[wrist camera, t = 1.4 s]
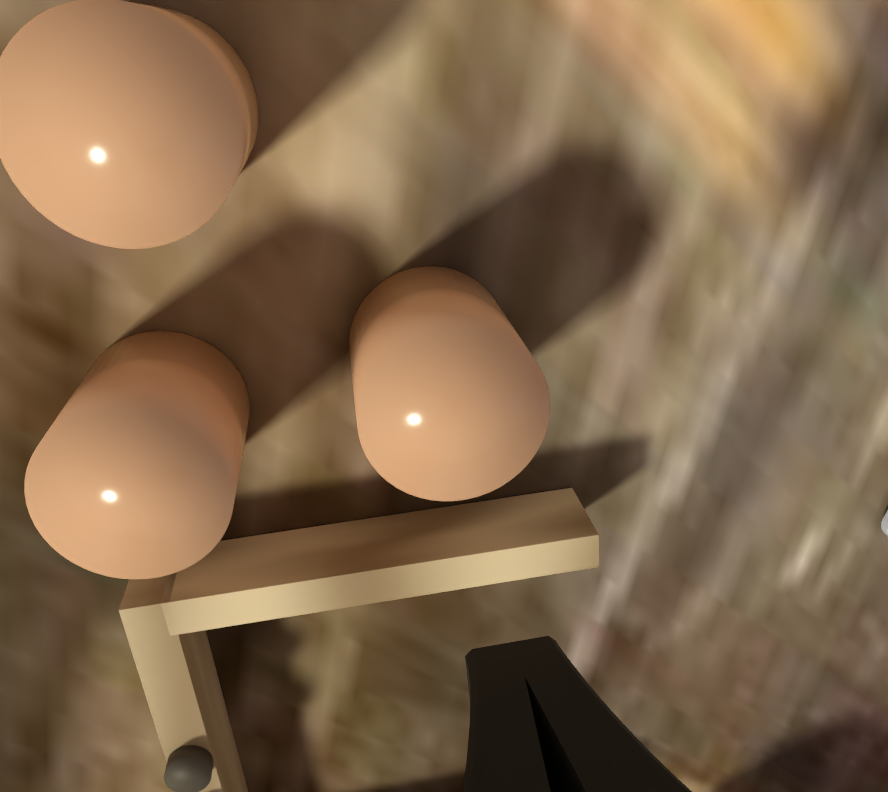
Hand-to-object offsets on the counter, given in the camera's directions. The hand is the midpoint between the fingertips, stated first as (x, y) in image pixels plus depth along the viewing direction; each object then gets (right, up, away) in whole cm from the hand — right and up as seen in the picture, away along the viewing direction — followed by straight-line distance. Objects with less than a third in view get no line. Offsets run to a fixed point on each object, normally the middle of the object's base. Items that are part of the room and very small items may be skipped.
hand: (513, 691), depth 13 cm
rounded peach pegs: (-4, +7, +7) cm, 11 cm away
